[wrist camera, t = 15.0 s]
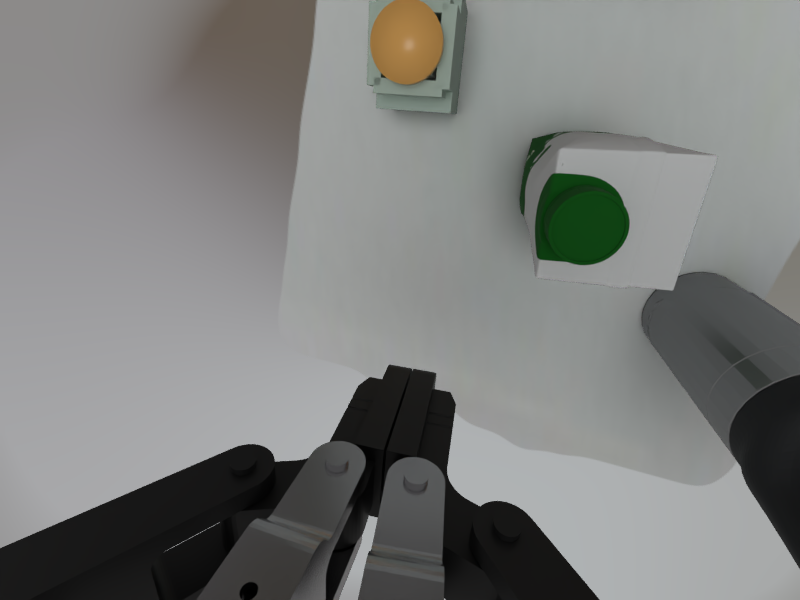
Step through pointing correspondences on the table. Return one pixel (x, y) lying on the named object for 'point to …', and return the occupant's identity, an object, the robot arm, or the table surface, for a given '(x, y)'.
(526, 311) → the table surface
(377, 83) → the cabinet
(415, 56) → the button
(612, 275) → the milk carton
